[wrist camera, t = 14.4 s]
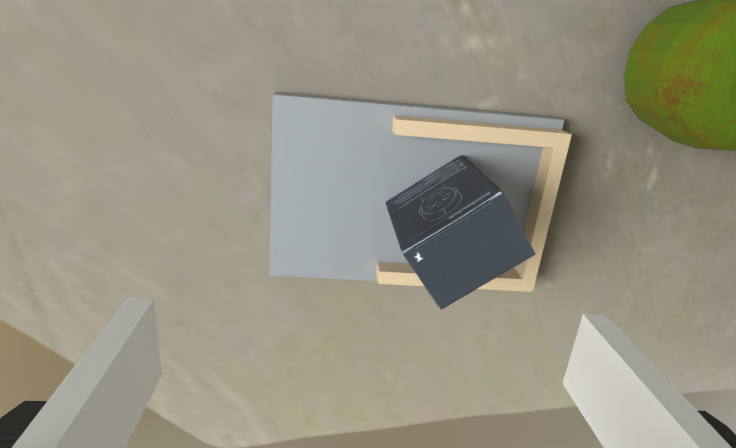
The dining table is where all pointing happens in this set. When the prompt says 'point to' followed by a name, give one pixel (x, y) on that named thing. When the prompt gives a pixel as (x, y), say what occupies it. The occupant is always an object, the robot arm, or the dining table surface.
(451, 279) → the box
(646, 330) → the dining table surface
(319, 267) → the dock
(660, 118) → the apple
